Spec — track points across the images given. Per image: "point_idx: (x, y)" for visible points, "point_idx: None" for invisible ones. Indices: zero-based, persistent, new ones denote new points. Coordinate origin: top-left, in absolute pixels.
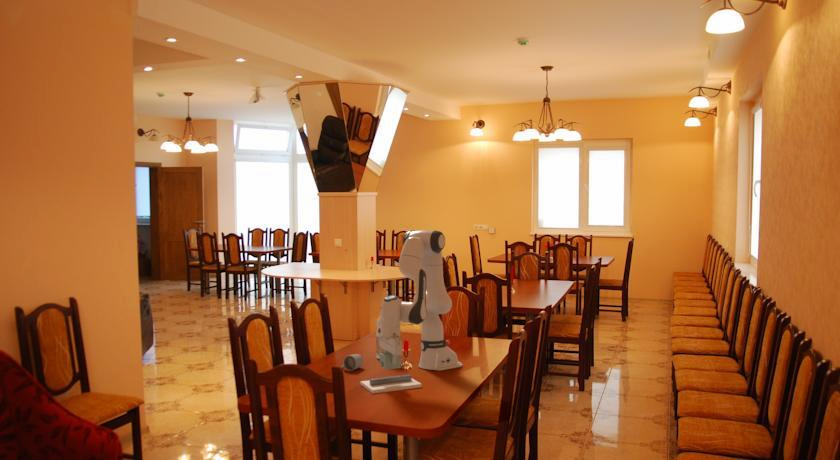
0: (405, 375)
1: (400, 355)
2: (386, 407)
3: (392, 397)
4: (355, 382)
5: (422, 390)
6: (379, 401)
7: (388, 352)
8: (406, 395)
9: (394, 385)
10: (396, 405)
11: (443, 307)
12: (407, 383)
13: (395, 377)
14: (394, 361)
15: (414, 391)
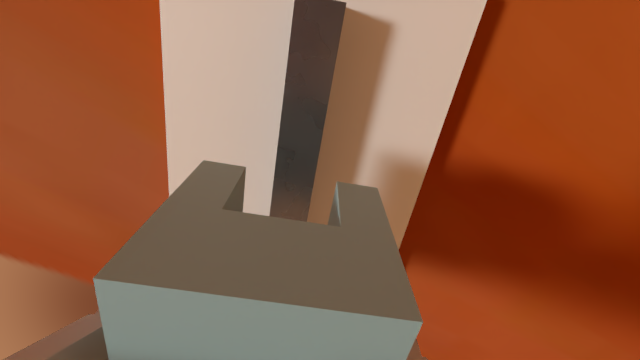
0: (311, 62)
1: (412, 324)
2: (585, 354)
3: (497, 274)
4: None
5: (547, 45)
6: (496, 339)
7: (57, 356)
8: (534, 202)
9: None
10: (607, 317)
11: None
12: (391, 91)
13: (315, 172)
14: None
15: (515, 113)
